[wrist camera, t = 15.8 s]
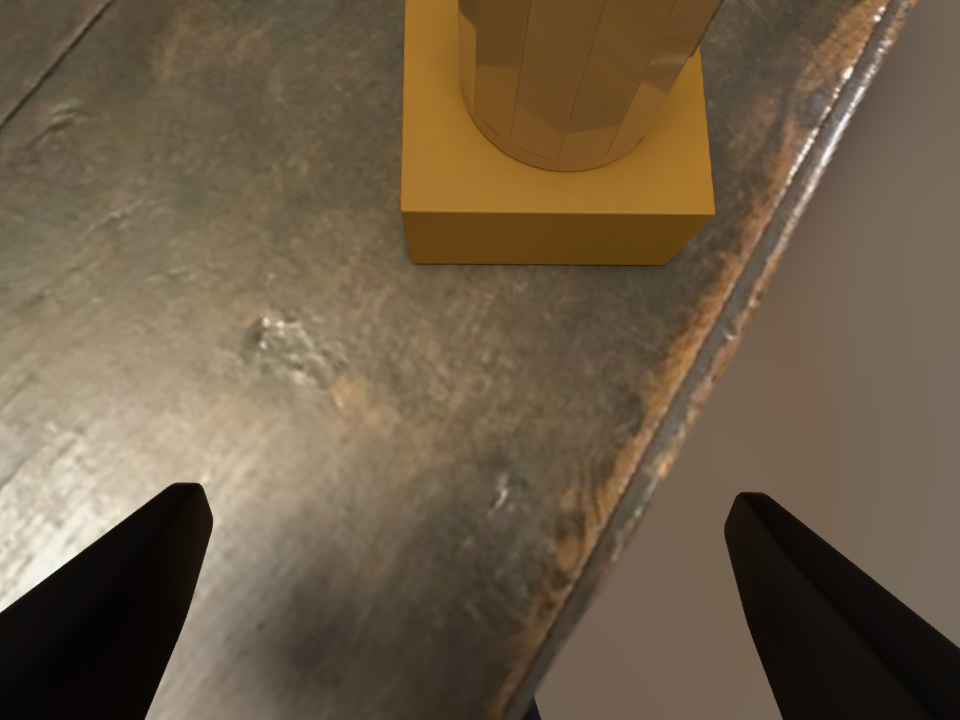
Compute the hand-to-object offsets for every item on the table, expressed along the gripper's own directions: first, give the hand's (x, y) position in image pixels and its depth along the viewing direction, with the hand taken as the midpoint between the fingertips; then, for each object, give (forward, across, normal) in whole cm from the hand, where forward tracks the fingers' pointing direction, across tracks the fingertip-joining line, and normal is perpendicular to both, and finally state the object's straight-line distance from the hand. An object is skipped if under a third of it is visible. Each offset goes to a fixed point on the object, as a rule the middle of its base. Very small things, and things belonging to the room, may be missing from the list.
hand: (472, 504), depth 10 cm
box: (+20, -3, -1) cm, 20 cm away
